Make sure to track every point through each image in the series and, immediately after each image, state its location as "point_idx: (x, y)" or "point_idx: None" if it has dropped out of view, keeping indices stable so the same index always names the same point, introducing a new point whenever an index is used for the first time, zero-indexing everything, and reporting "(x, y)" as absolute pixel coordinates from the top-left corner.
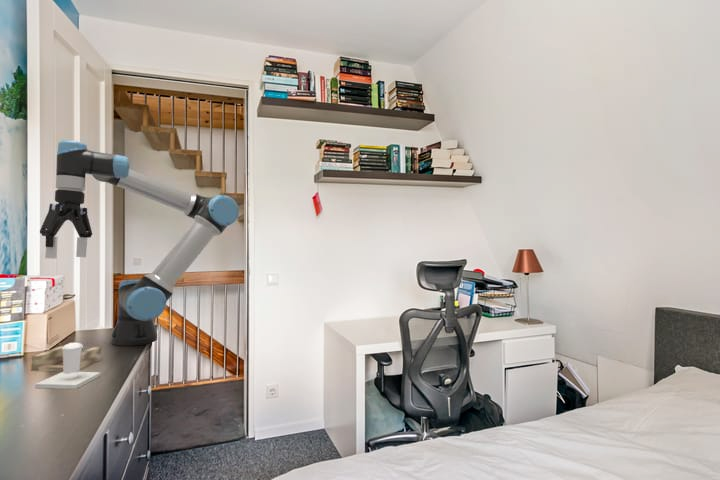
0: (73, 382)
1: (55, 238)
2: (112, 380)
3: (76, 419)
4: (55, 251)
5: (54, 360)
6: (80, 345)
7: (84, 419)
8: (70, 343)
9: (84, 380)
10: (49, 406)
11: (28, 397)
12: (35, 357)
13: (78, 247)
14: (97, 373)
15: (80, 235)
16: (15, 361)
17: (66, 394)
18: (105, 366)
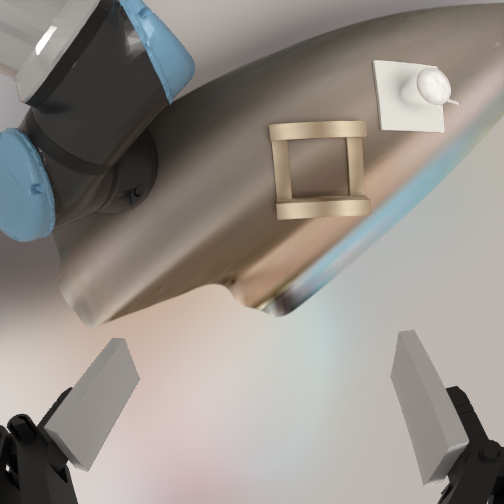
0: None
1: (462, 431)
2: (386, 32)
3: (500, 25)
4: (425, 358)
5: (320, 197)
6: (434, 69)
7: (497, 17)
8: (436, 91)
9: (417, 64)
10: (486, 71)
11: (470, 116)
12: (369, 206)
13: (112, 411)
14: (380, 62)
15: (63, 470)
16: (310, 281)
17: (453, 70)
18: (314, 85)
